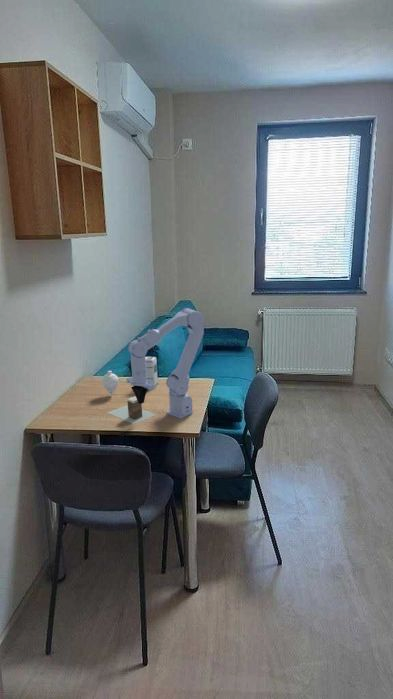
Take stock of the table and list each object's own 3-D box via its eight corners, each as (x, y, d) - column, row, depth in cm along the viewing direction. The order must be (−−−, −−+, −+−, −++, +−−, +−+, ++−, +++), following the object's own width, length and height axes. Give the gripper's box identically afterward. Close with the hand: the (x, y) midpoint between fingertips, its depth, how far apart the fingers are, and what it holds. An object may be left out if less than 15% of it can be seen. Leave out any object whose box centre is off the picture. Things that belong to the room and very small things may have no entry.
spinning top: (102, 393, 216) (100, 369, 212) (118, 391, 218) (116, 367, 215) (104, 399, 209) (102, 374, 205) (121, 397, 211) (119, 372, 208)
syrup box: (155, 388, 220) (153, 360, 217) (143, 388, 222) (141, 359, 218) (158, 384, 226) (156, 356, 222) (147, 384, 227) (145, 356, 223)
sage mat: (156, 415, 189) (156, 414, 189) (133, 425, 181) (133, 424, 181) (129, 405, 201) (129, 404, 201) (107, 413, 193) (106, 412, 193)
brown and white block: (142, 416, 187) (141, 398, 185) (134, 419, 185) (133, 401, 183) (136, 414, 190) (134, 396, 188) (128, 417, 187) (127, 398, 185)
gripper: (119, 369, 181) (122, 401, 185) (143, 377, 171) (145, 410, 175) (133, 365, 186) (135, 396, 190) (157, 372, 176) (158, 405, 180)
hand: (141, 402), depth 183 cm, fingers closed
